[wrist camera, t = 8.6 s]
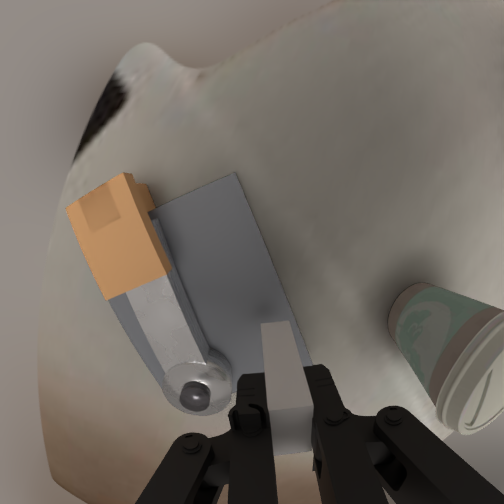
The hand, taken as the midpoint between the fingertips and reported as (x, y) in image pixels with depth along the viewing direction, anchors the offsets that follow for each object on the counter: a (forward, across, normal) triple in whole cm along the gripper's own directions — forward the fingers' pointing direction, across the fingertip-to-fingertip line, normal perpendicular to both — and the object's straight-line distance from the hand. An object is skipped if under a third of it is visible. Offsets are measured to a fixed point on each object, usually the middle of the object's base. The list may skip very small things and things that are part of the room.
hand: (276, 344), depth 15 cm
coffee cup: (+7, +13, -3) cm, 15 cm away
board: (+6, -5, 0) cm, 8 cm away
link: (+4, -7, 0) cm, 8 cm away
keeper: (+6, -8, +7) cm, 12 cm away
